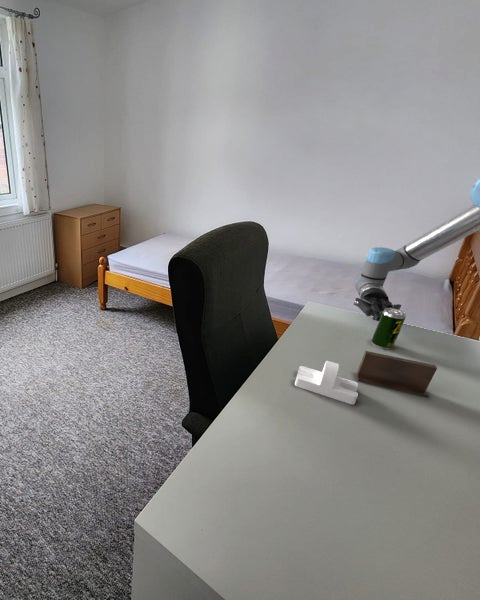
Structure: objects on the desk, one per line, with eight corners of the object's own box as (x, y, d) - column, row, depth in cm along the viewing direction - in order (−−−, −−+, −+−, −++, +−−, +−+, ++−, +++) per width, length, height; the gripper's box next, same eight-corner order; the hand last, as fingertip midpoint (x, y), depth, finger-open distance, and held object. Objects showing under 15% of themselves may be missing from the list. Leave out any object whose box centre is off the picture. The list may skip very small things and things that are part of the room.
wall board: (422, 390, 88) (435, 365, 85) (426, 397, 85) (439, 372, 82) (355, 374, 94) (365, 350, 91) (357, 381, 92) (367, 356, 89)
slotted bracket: (354, 390, 89) (364, 366, 85) (354, 405, 84) (364, 380, 80) (297, 372, 96) (304, 349, 93) (294, 385, 91) (301, 361, 88)
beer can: (367, 344, 108) (380, 310, 103) (374, 339, 111) (387, 306, 106) (388, 351, 104) (403, 317, 99) (395, 346, 106) (410, 312, 101)
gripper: (392, 309, 124) (408, 339, 105) (348, 302, 130) (356, 329, 112) (400, 290, 121) (418, 318, 102) (354, 284, 127) (363, 309, 108)
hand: (385, 324), depth 107 cm, fingers closed
